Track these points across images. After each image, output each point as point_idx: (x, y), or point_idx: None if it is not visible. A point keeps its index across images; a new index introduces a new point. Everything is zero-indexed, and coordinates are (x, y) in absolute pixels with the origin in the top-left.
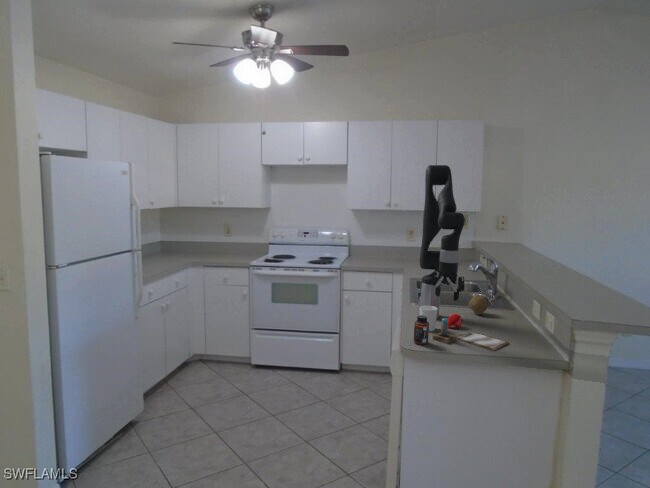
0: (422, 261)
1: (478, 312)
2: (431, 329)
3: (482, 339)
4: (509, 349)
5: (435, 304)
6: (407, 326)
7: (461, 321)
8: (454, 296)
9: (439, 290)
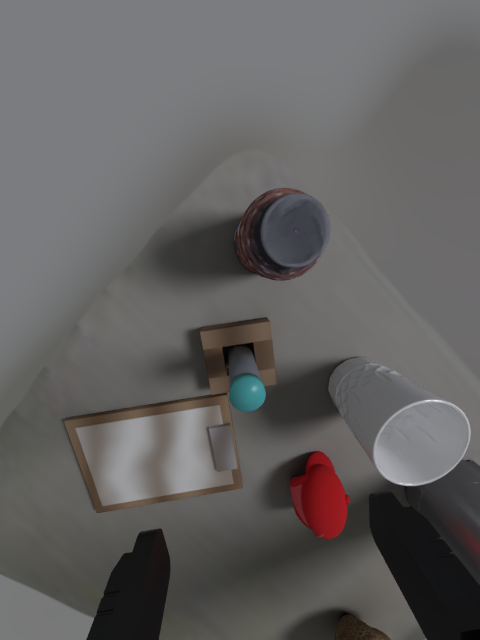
0: None
1: (342, 625)
2: (332, 380)
3: (158, 460)
4: (58, 471)
5: (460, 541)
6: (423, 338)
7: (298, 513)
8: (127, 589)
9: (417, 603)
